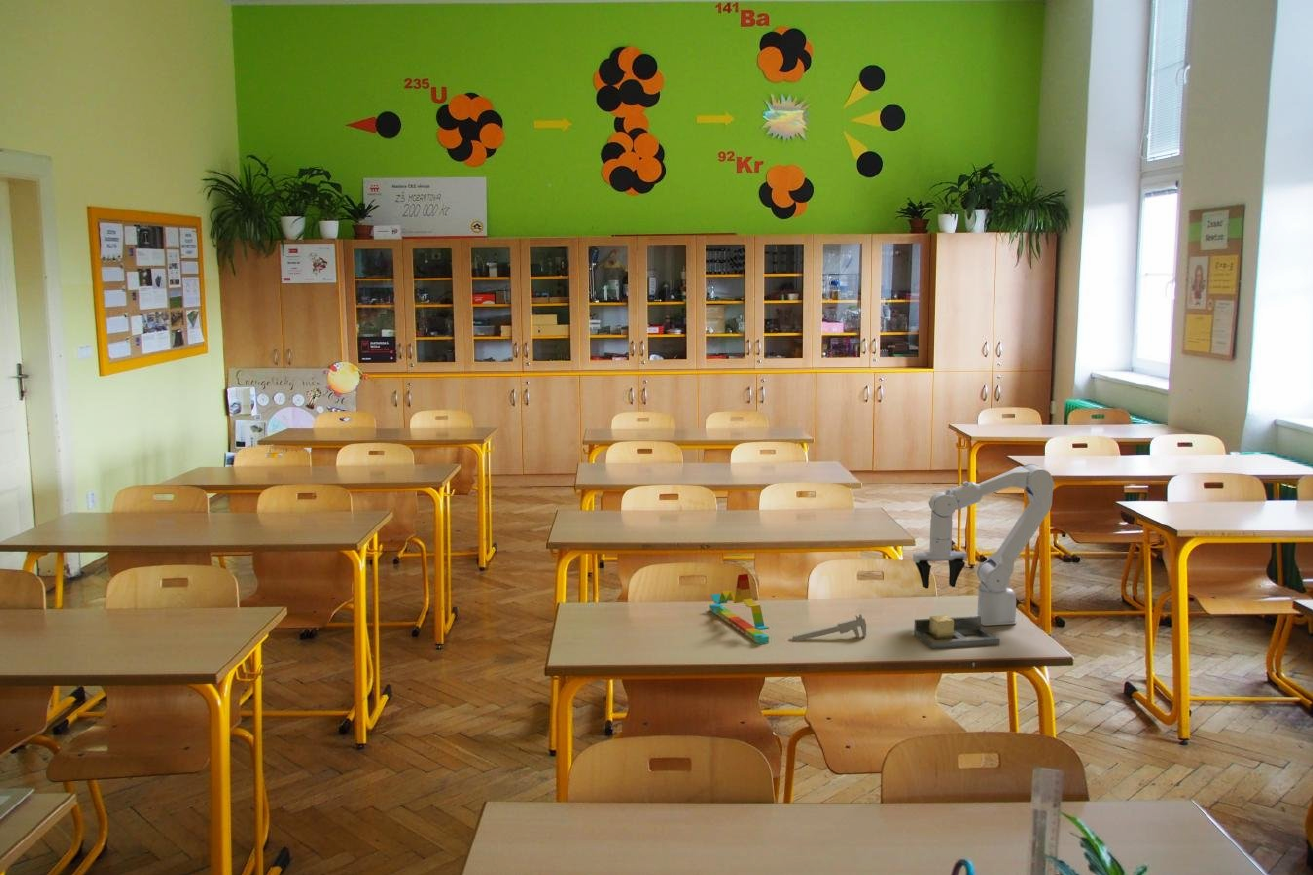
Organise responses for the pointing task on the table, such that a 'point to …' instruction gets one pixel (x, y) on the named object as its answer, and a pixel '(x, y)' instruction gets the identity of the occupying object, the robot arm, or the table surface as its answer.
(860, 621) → the caliper
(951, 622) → the brass block
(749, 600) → the rainbow striped peaked bar
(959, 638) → the grey tray
